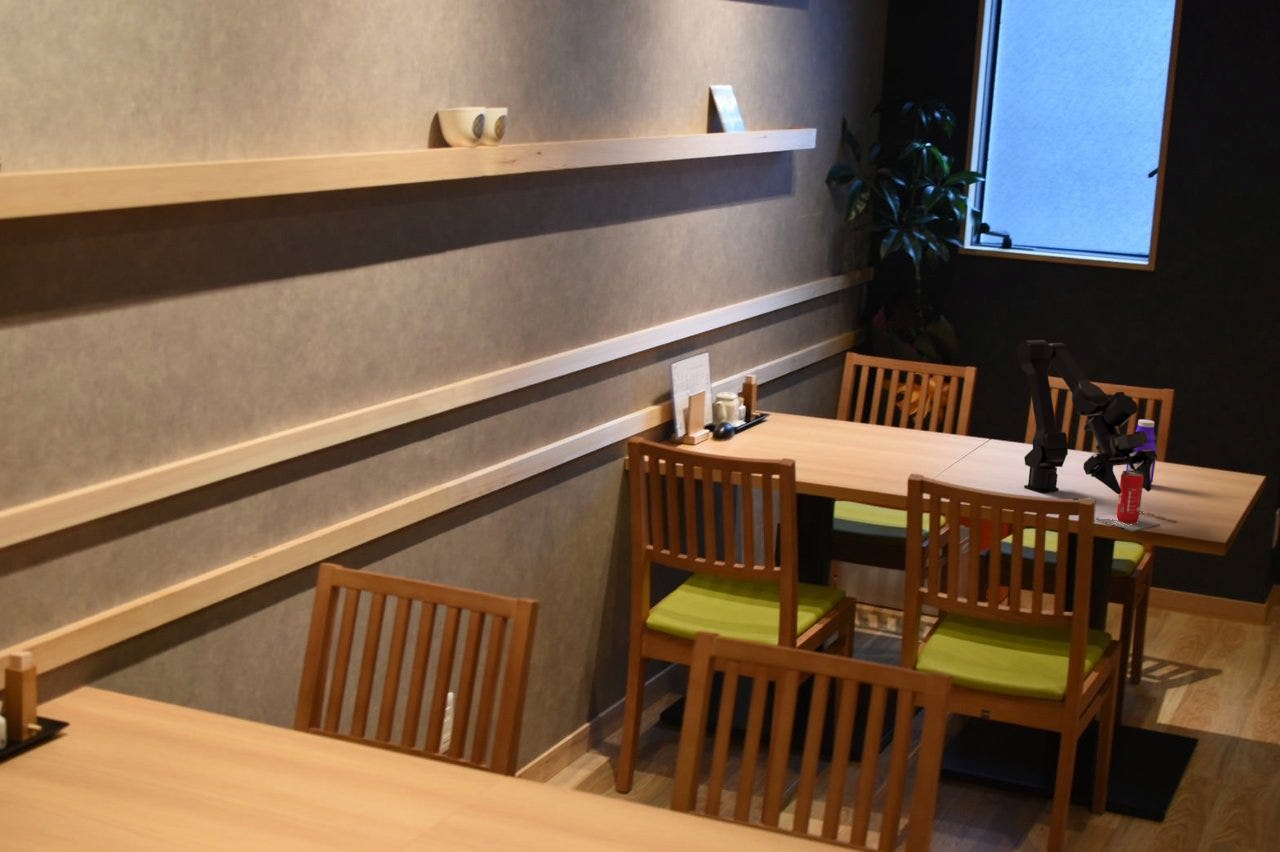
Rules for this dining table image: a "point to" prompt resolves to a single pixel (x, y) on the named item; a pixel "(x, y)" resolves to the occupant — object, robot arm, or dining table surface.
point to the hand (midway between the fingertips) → (1134, 492)
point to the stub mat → (1135, 526)
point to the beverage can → (1130, 496)
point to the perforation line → (1160, 517)
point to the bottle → (1149, 430)
